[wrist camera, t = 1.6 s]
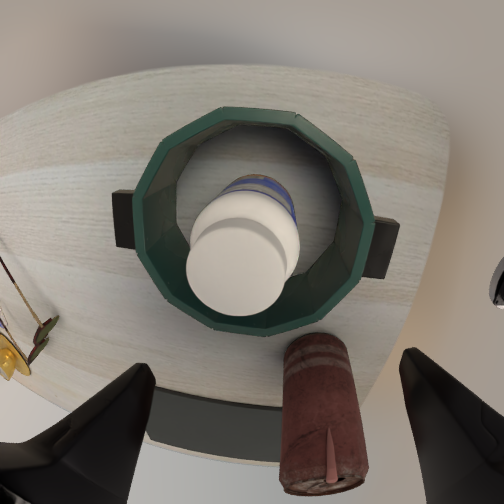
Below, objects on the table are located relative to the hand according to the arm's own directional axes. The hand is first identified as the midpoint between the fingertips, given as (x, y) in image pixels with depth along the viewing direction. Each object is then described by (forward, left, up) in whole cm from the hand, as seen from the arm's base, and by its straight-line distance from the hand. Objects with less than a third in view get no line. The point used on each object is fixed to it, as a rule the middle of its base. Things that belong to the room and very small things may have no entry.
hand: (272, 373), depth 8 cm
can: (-5, +12, -13) cm, 18 cm away
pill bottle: (+2, -2, -13) cm, 13 cm away
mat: (+4, +31, -13) cm, 34 cm away
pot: (+2, -2, -13) cm, 13 cm away
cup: (+50, +31, -13) cm, 60 cm away
